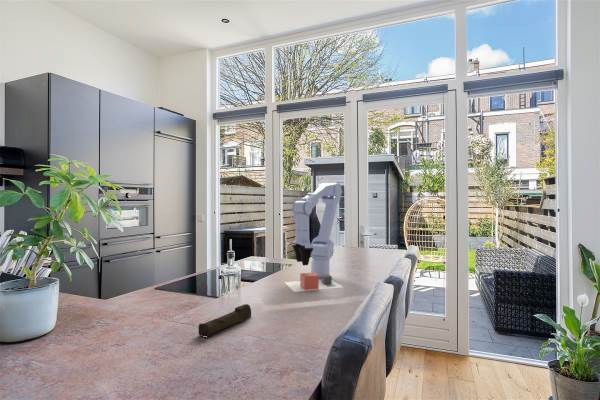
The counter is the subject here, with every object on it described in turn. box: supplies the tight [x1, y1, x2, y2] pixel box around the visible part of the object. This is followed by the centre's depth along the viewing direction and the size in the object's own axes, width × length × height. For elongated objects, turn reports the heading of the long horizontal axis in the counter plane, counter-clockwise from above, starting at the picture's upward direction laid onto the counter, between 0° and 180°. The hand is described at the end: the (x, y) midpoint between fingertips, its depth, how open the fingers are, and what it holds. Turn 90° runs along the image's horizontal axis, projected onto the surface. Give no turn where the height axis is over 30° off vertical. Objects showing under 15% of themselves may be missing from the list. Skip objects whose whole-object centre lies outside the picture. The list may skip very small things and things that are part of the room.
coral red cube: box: [299, 272, 320, 290], centre depth 134 cm, size 6×6×5 cm
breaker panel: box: [284, 275, 344, 293], centre depth 138 cm, size 15×20×4 cm
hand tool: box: [197, 303, 252, 338], centre depth 98 cm, size 19×4×5 cm, turn 144°
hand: (302, 263), depth 141 cm, fingers open, 7 cm apart
